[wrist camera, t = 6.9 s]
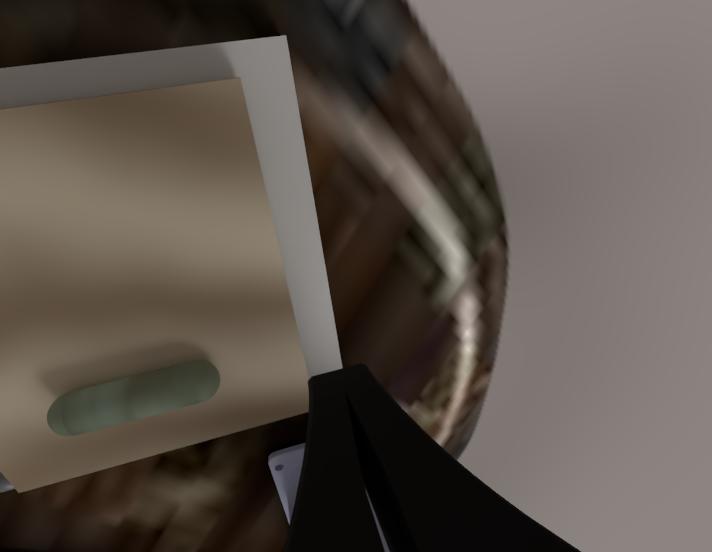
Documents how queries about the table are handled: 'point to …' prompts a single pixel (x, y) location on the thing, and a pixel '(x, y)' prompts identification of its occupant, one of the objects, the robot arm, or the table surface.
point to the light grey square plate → (272, 138)
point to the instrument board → (137, 282)
